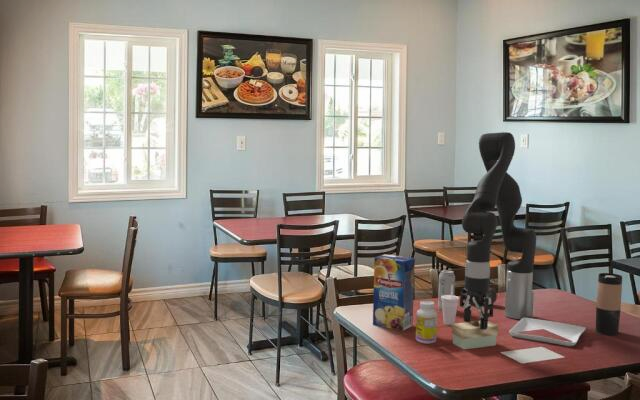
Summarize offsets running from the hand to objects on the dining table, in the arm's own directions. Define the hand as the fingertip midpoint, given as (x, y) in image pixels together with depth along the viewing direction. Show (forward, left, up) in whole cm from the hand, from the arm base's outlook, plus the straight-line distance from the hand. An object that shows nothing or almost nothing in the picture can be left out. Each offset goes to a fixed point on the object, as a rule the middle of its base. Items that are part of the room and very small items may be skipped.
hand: (475, 325), depth 202 cm
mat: (-11, +14, -7) cm, 19 cm away
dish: (0, 0, -7) cm, 7 cm away
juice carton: (+13, -30, -8) cm, 34 cm away
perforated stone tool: (-34, -46, -8) cm, 58 cm away
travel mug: (-54, +1, -8) cm, 55 cm away
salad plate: (-30, -1, -8) cm, 31 cm away
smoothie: (-7, -25, -8) cm, 27 cm away
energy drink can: (-16, -41, -8) cm, 45 cm away
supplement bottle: (+11, -11, -8) cm, 17 cm away
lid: (0, 0, -3) cm, 3 cm away
